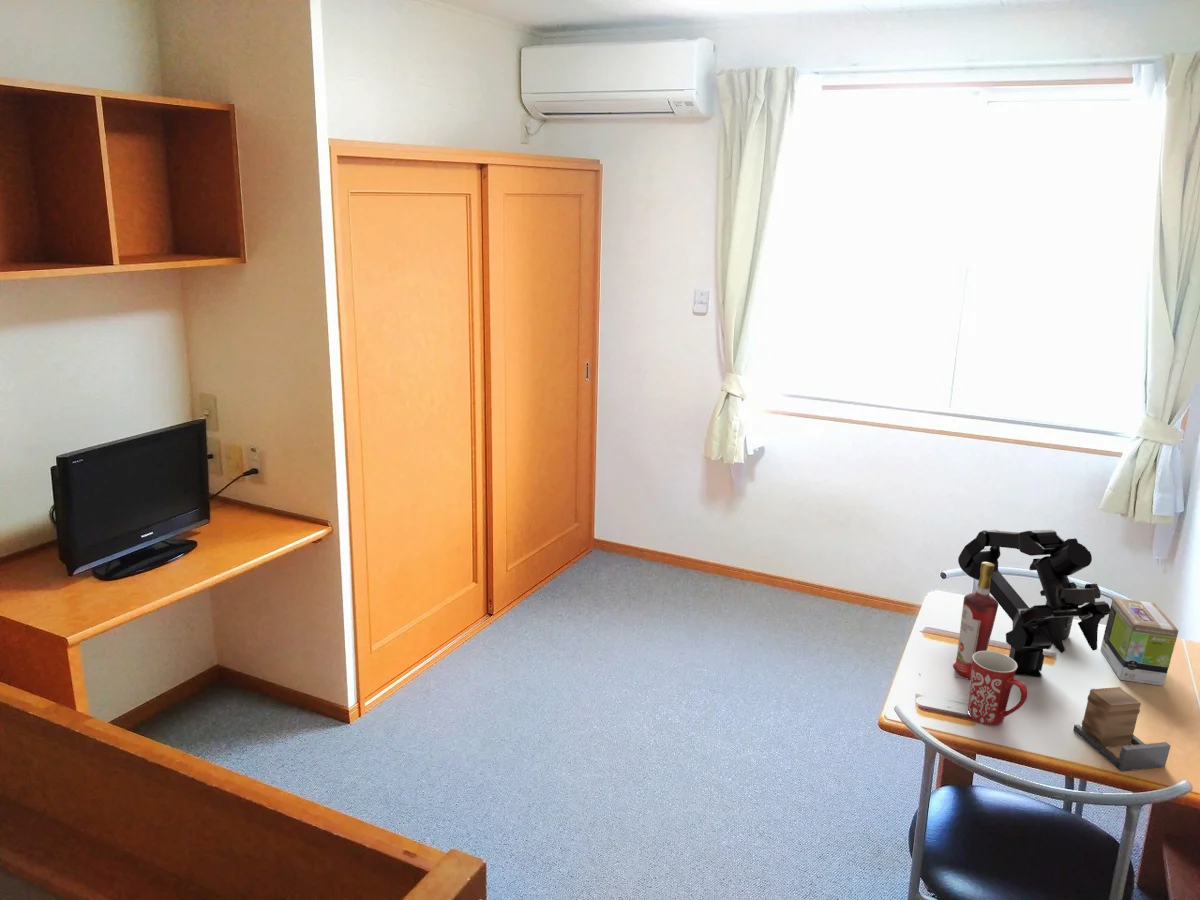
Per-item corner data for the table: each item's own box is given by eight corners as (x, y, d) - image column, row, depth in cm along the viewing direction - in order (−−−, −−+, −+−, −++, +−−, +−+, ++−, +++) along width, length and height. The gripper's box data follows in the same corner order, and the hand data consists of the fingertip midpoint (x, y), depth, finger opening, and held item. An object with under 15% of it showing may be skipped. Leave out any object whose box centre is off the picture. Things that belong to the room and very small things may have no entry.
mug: (952, 710, 198) (962, 655, 194) (981, 700, 203) (991, 646, 199) (1001, 742, 188) (1013, 684, 184) (1030, 731, 192) (1042, 674, 188)
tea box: (1165, 687, 212) (1180, 630, 207) (1118, 680, 213) (1132, 624, 209) (1142, 655, 226) (1155, 601, 221) (1098, 649, 228) (1111, 595, 223)
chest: (1080, 730, 193) (1089, 689, 190) (1109, 727, 195) (1119, 686, 192) (1100, 748, 187) (1111, 705, 184) (1131, 745, 189) (1141, 703, 186)
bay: (1073, 730, 193) (1077, 709, 191) (1115, 726, 195) (1120, 706, 194) (1120, 771, 180) (1126, 749, 179) (1164, 767, 182) (1170, 745, 181)
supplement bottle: (1072, 642, 230) (1081, 599, 227) (1043, 638, 232) (1052, 596, 228) (1064, 629, 237) (1073, 587, 233) (1036, 626, 238) (1045, 584, 234)
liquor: (944, 667, 216) (963, 558, 207) (971, 664, 218) (991, 556, 209) (963, 684, 209) (984, 572, 201) (991, 680, 211) (1012, 570, 202)
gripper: (1040, 572, 196) (1064, 643, 189) (1114, 568, 200) (1141, 638, 193) (1010, 589, 206) (1033, 657, 199) (1082, 585, 210) (1106, 652, 203)
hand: (1079, 651), depth 198 cm, fingers open, 8 cm apart
